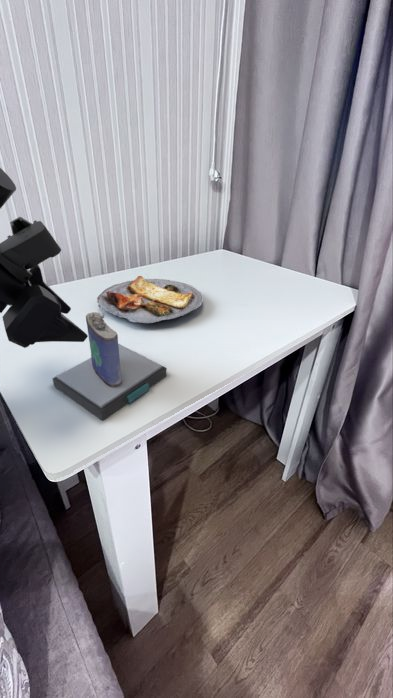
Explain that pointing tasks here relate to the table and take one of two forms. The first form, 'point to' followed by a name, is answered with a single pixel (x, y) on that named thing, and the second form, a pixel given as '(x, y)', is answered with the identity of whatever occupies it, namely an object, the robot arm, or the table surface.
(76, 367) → the scale
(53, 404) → the table surface
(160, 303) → the food plate
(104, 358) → the flask
